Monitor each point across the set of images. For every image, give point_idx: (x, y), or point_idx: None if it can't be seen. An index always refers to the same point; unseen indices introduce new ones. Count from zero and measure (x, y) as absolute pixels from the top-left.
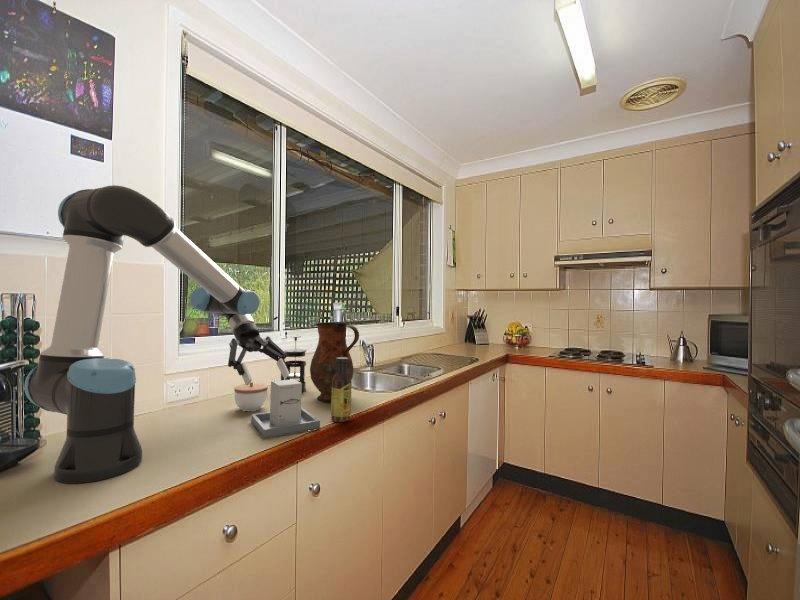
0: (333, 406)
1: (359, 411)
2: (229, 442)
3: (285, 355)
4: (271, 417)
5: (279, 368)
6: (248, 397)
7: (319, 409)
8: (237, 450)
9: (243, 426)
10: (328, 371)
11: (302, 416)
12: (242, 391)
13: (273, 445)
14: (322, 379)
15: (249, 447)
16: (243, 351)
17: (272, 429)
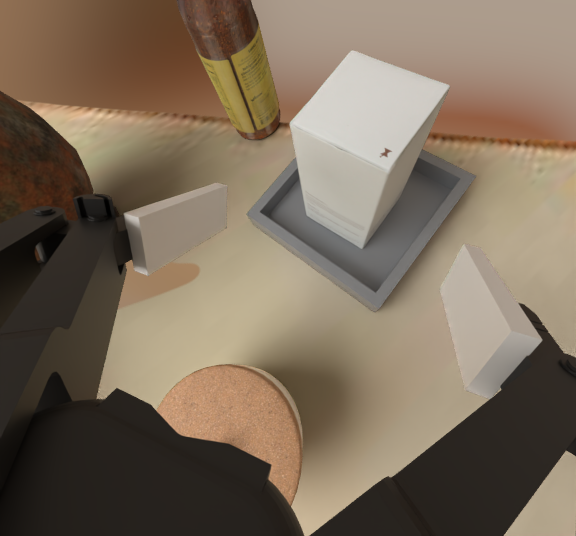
0: (270, 93)
1: (179, 122)
2: (536, 250)
3: (57, 212)
4: (376, 227)
5: (183, 249)
6: (291, 403)
7: None
8: (562, 194)
9: (413, 309)
10: (45, 140)
11: (278, 203)
12: (300, 440)
13: (483, 147)
14: (76, 187)
15: (528, 183)
16: (497, 481)
17: (453, 167)
